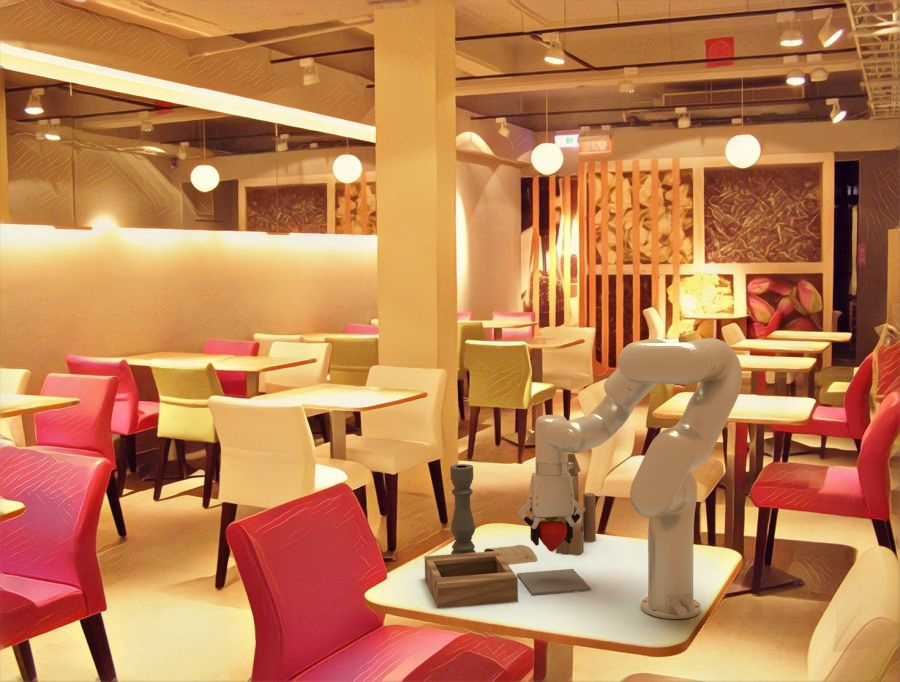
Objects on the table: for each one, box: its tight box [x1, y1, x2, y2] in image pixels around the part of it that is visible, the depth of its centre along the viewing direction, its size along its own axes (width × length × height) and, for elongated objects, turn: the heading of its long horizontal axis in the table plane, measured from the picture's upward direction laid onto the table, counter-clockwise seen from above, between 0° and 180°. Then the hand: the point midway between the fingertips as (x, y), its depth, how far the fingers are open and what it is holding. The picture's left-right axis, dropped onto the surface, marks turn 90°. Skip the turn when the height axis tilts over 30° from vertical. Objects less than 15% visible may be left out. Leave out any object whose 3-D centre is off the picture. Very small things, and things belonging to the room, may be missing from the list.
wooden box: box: [424, 550, 519, 608], centre depth 222 cm, size 20×18×6 cm
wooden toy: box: [555, 452, 597, 556], centre depth 253 cm, size 16×7×25 cm, turn 156°
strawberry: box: [537, 517, 567, 552], centre depth 225 cm, size 6×8×10 cm
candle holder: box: [449, 463, 477, 554], centre depth 239 cm, size 6×6×25 cm
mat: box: [516, 568, 592, 596], centre depth 226 cm, size 14×14×1 cm
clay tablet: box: [483, 544, 538, 566], centre depth 246 cm, size 14×10×3 cm
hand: (551, 542), depth 225 cm, fingers closed on strawberry, 7 cm apart
